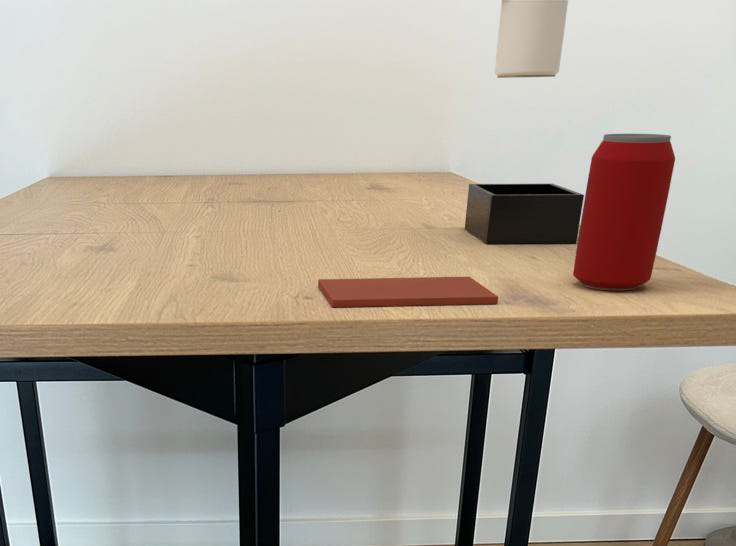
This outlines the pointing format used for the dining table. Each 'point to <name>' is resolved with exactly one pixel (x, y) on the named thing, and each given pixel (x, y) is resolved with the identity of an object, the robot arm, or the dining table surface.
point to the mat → (405, 291)
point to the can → (530, 38)
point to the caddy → (523, 213)
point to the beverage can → (623, 211)
